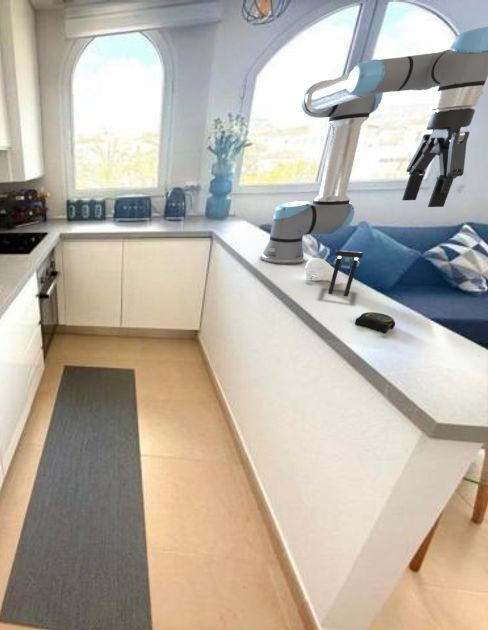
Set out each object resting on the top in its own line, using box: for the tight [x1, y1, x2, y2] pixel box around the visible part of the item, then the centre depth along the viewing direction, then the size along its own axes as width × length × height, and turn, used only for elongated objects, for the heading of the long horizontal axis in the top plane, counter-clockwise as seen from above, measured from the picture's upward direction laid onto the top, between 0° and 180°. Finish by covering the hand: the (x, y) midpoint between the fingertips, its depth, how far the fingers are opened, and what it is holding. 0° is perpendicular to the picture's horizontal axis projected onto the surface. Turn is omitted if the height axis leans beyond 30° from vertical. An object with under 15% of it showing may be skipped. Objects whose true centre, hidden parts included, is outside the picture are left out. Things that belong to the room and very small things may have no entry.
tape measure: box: [354, 311, 396, 334], centre depth 88 cm, size 7×7×4 cm
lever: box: [334, 249, 364, 269], centre depth 100 cm, size 13×6×2 cm, turn 140°
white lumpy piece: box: [304, 257, 346, 285], centre depth 118 cm, size 6×8×12 cm
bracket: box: [327, 256, 361, 297], centre depth 107 cm, size 11×8×13 cm
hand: (421, 203), depth 91 cm, fingers open, 12 cm apart
